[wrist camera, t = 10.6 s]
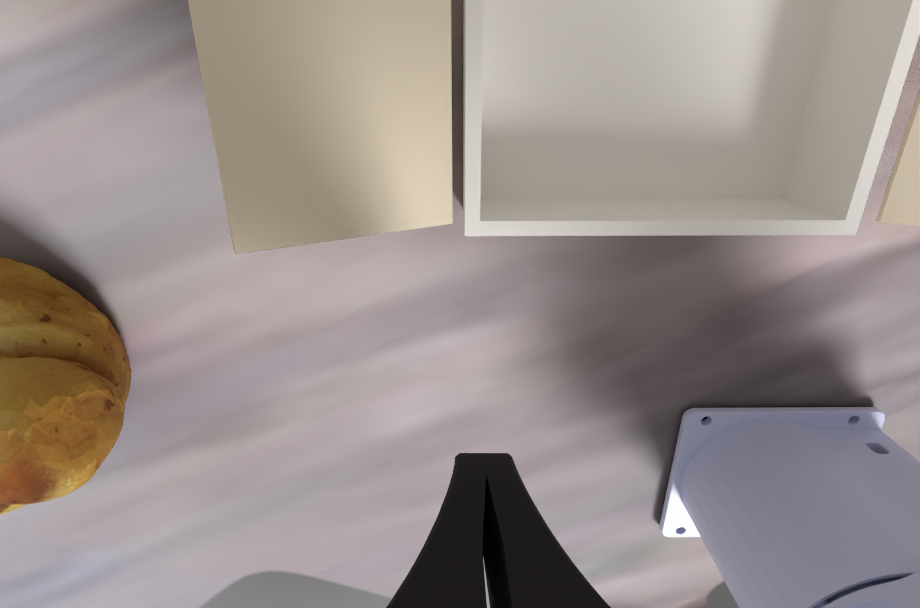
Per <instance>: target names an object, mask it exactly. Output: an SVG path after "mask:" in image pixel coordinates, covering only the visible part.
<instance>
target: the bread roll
mask: <svg viewBox="0 0 920 608" xmlns="http://www.w3.org/2000/svg"><path fill="white" fill-rule="evenodd" d="M130 381H131V369H130V364H129V360H128V357H127V353H126V350H125V347H124V344H123V342H122V340H121V338H120V335H119V334H118V333H117V331H116V330H115V329H114V327H113V325H112V324H111V322H110V321H109V319H108V318H107V317H106V316H105V315H104V314H102V313H101V312H100V311H99V310H98V309H97V308H96V307H95V306H94V305H93V304H92V303H90V302H89V301H88V300H86V299H85V298H83V297H82V296H81V295H80V294H79V293H78V292H76V291H75V290H73V289H72V288H70V287H68V286H67V285H65V284H64V283H62V282H61V281H59V280H57V279H55V278H53V277H52V276H51V275H49V274H48V273H47V272H45V271H43V270H41V269H38V268H36V267H33V266H30V265H27V264H24V263H21V262H18V261H15V260H12V259H8V258H5V257H0V514H3V513H7V512H9V511H12V510H15V509H17V508H20V507H22V506H24V505H26V504H32V503H39V502H44V501H48V500H51V499H54V498H58V497H61V496H64V495H66V494H68V493H71V492H73V491H74V490H76V489H77V488H79V487H80V486H82V485H83V484H85V483H86V482H88V481H89V480H90V479H91V477H92V476H93V475H94V473H95V472H96V471H97V469H98V468H99V467H100V465H101V464H102V462H103V461H104V460H105V458H106V457H107V455H108V454H109V452H110V451H111V449H112V448H113V446H114V444H115V442H116V440H117V438H118V436H119V434H120V432H121V429H122V425H123V417H124V410H125V406H124V404H125V402H126V400H127V397H128V393H129V388H130Z"/></svg>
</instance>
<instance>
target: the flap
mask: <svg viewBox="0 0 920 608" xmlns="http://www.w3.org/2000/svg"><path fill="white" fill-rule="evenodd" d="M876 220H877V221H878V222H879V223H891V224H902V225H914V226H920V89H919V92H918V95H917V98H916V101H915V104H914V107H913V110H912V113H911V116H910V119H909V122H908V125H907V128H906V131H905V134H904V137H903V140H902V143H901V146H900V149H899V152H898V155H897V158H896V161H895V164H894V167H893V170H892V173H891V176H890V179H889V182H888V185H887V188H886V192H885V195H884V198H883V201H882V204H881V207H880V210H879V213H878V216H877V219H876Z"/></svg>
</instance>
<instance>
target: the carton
mask: <svg viewBox="0 0 920 608" xmlns="http://www.w3.org/2000/svg"><path fill="white" fill-rule="evenodd" d="M919 35H920V0H463V216H464V232H465V236H699V235H856V233H857V230H858V226H859V223H860V220H861V217H862V214H863V211H864V208H865V204H866V201H867V198H868V195H869V192H870V189H871V186H872V183H873V179H874V176H875V173H876V170H877V167H878V164H879V161H880V157H881V154H882V151H883V148H884V145H885V142H886V139H887V136H888V132H889V129H890V126H891V123H892V120H893V117H894V114H895V110H896V107H897V104H898V101H899V98H900V95H901V92H902V89H903V85H904V82H905V79H906V76H907V73H908V70H909V67H910V63H911V60H912V57H913V54H914V51H915V48H916V45H917V42H918V38H919Z"/></svg>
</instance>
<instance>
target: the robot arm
mask: <svg viewBox="0 0 920 608" xmlns="http://www.w3.org/2000/svg"><path fill="white" fill-rule="evenodd" d="M707 416H708V417H707ZM852 416H853V417H852ZM704 417H707V419H705V420H702V418H704ZM851 417H852V418H851ZM701 420H702V421H701ZM884 420H885V414H884V413H883V412H882V411H880V410H879V409H878V408H876V407H784V408H691V409H689V410H687V411H686V412H685V413H684V414H683V416H682V421H681V425H680V430H679V435H678V440H677V445H676V449H675V454H674V459H673V464H672V468H671V473H670V478H669V483H668V487H667V492H666V497H665V502H664V506H663V511H662V516H661V521H660V530H661V532H662V534H663V535H664V536H666V537H701V538H702V540H703V542H704V543H705V545H706V547H707V549H708V551H709V553H710V555H711V556H712V558H713V560H714V562H715V564H716V566H717V568H718V569H719V571H720V573H721V575H722V577H723V579H724V580H725V582H726V584H727V586H728V588H729V590H730V592H731V593H732V595H733V597H734V599H735V600H736V603H737V604H738V606H739V608H920V462H919V461H918V460H916V459H915V458H914V457H913V456H911V455H910V454H909V453H908V452H907V451H905V450H904V449H903V448H902V447H900V446H899V445H898V444H897V443H896V442H894V441H893V440H892V439H891V438H889V437H888V436H887V435H886V434H885V433H883V432H882V431H881V427H882V425H883V422H884ZM679 527H680V528H679ZM483 557H484V565H485V572H486V579H487V587H488V594H489V602H490V608H611V607H610V606H609V605H608V604H607V603H606V602H605V601H604V600H603V599H602V598H601V596H600V595H599V594H598V593H597V592H596V591H595V589H594V588H593V587H592V586H591V585H590V583H589V582H588V581H587V580H586V579H585V577H584V576H583V575H582V574H581V572H580V571H579V570H578V569H577V567H576V566H575V565H574V563H573V562H572V561H571V559H570V558H569V557H568V555H567V554H566V553H565V551H564V550H563V548H562V547H561V545H560V544H559V543H558V541H557V540H556V538H555V537H554V535H553V534H552V532H551V531H550V529H549V528H548V526H547V524H546V523H545V521H544V520H543V518H542V516H541V514H540V513H539V511H538V509H537V508H536V506H535V504H534V503H533V501H532V499H531V497H530V495H529V494H528V492H527V490H526V488H525V486H524V484H523V482H522V480H521V478H520V476H519V473H518V471H517V469H516V466H515V464H514V461H513V458H512V457H511V456H510V455H509V454H508V453H460V454H458V455H457V456H456V457H455V465H454V470H453V474H452V478H451V482H450V485H449V488H448V491H447V494H446V497H445V499H444V502H443V504H442V507H441V509H440V512H439V515H438V517H437V519H436V521H435V523H434V526H433V528H432V530H431V532H430V534H429V536H428V538H427V540H426V542H425V544H424V546H423V548H422V550H421V552H420V554H419V556H418V558H417V559H416V561H415V563H414V565H413V566H412V568H411V570H410V572H409V573H408V575H407V577H406V578H405V580H404V581H403V583H402V585H401V586H400V588H399V589H398V591H397V592H396V594H395V595H394V597H393V598H392V600H391V602H390V603H389V604H388V606H387V607H386V608H487V605H486V592H485V579H484V565H483Z"/></svg>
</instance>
